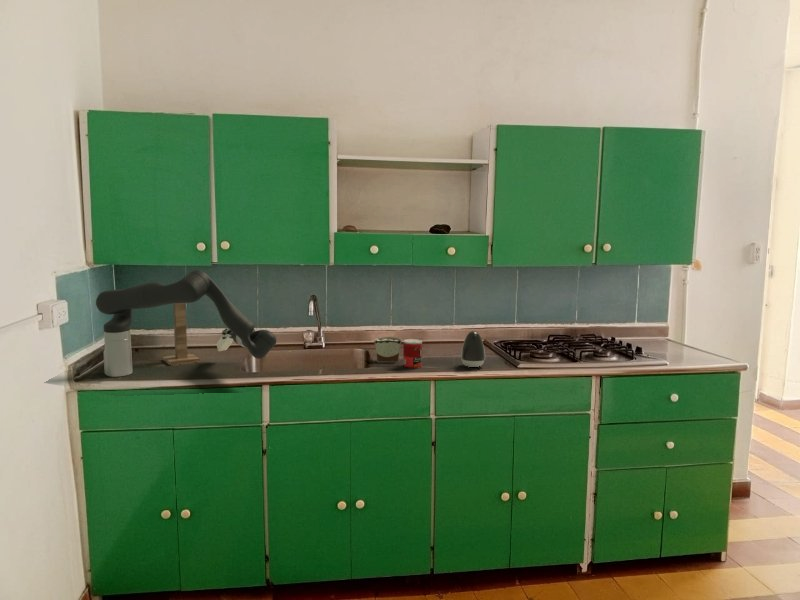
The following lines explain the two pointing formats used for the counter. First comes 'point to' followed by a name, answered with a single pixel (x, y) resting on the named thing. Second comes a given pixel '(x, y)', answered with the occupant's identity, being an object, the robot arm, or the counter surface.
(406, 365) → the canned food
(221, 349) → the bar
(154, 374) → the counter surface
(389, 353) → the food container
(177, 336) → the stand
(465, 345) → the grey egg shaped speaker
